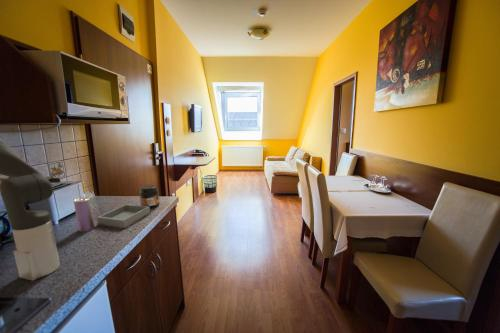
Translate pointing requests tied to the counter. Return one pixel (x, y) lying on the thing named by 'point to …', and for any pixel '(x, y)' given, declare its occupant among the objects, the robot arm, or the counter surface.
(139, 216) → the tray
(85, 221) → the beverage can
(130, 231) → the counter surface
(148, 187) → the supplement container
